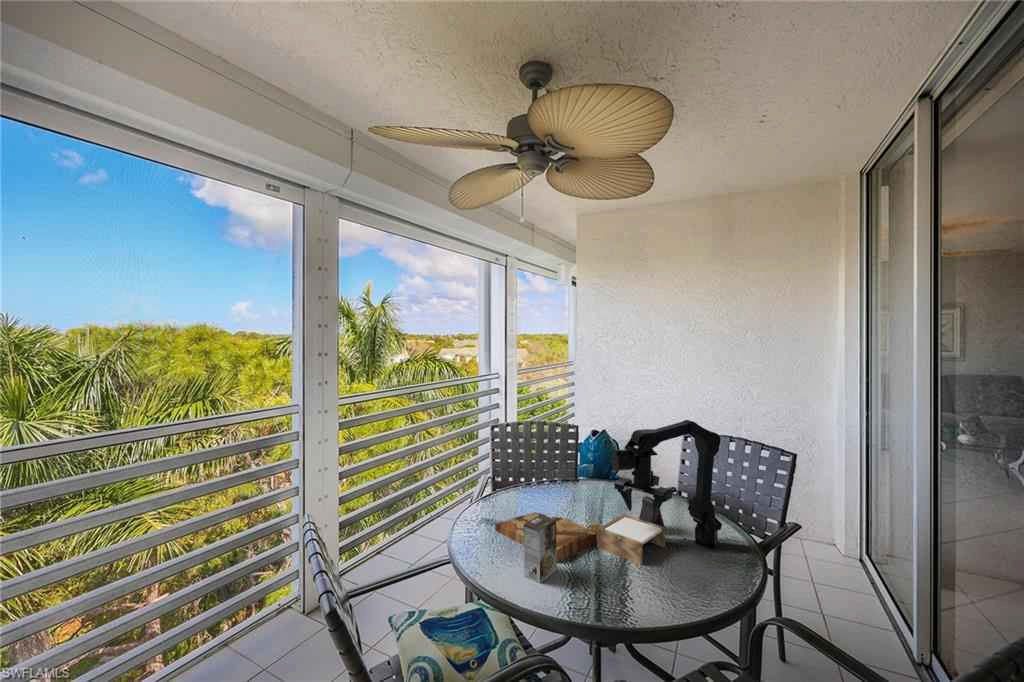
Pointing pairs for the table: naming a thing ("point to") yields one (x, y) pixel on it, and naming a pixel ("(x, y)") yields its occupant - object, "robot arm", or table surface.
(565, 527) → the decorative slab
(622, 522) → the trapdoor
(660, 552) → the table surface
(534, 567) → the coffee box
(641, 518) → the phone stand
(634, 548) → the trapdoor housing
